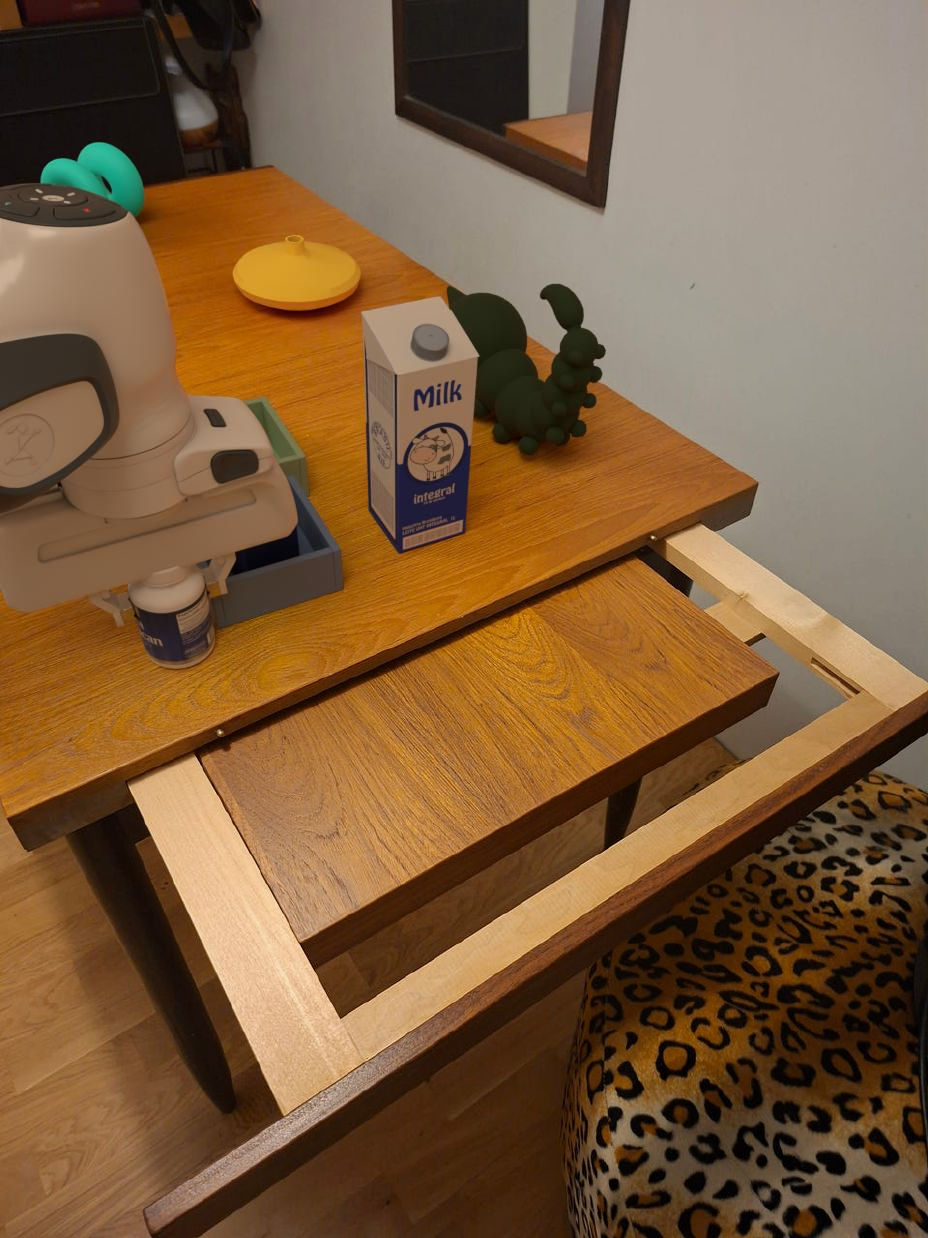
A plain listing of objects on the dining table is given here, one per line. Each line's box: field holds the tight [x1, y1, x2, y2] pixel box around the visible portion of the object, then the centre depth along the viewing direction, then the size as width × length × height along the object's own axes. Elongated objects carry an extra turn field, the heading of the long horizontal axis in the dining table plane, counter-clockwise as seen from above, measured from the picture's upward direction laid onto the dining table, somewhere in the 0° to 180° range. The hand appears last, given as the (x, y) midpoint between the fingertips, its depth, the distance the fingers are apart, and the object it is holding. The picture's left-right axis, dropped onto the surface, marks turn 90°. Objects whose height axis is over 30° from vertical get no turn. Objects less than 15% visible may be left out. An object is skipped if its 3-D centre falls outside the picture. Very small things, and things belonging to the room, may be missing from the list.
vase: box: [231, 234, 362, 312], centre depth 107 cm, size 16×16×7 cm
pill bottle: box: [127, 564, 216, 670], centre depth 65 cm, size 5×5×10 cm
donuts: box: [40, 141, 146, 219], centre depth 116 cm, size 10×10×10 cm
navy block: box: [230, 525, 300, 575], centre depth 73 cm, size 5×5×5 cm
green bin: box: [242, 396, 311, 498], centre depth 82 cm, size 11×11×5 cm
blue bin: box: [196, 475, 344, 629], centre depth 74 cm, size 11×11×5 cm
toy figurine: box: [446, 283, 607, 457], centre depth 87 cm, size 9×19×25 cm
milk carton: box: [360, 295, 479, 554], centre depth 73 cm, size 7×7×20 cm
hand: (172, 604), depth 65 cm, fingers closed on pill bottle, 5 cm apart
